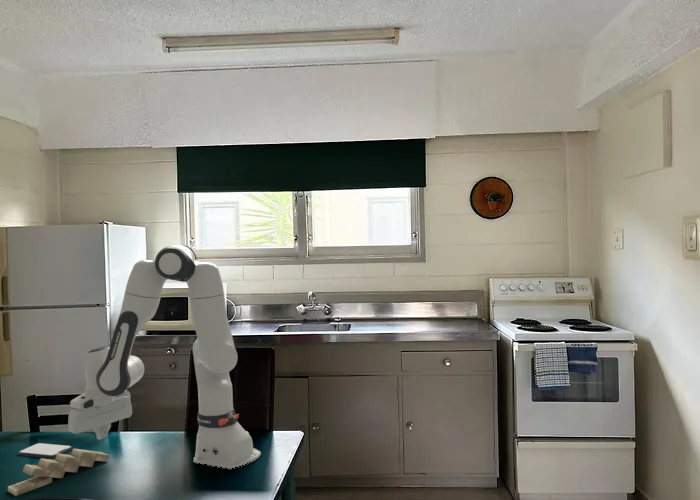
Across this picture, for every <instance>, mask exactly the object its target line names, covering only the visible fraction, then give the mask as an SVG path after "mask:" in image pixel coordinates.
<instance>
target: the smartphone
mask: <svg viewBox="0 0 700 500" xmlns="http://www.w3.org/2000/svg"><path fill="white" fill-rule="evenodd" d="M72 450H73V446H72V445H64V444H63V445H62V444H55V443H54V444H52V443H41V442H39V443H35V444H33V445H31V446H28V447H26V448H23V449H21V450H20V451H19V450H18V452H17V453H18V456H21V455H22V456H23V457H30V458H31V457H32V458H37V459H38V458H40V459H41V458H42V459H50V460H55V458H56V456H57V453H58V454H66V455H67V454H68V453H70V452H72Z"/></svg>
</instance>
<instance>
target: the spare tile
mask: <svg viewBox="0 0 700 500" xmlns="http://www.w3.org/2000/svg"><path fill="white" fill-rule="evenodd" d="M51 483H53V477H42V476H32V477H31V478H28V479H25V480H23V481H20V482H17V483H14V484H12V485H11V484H10V485H9V486H7V491H8V493H10V494H11V495H13V496H15V497H17V496H20V495H22V494H25V493H27V492H30V491H33V490H35V489H36V490H37V489H38V488H41V487H43V486H46V485H48V484H51Z"/></svg>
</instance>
